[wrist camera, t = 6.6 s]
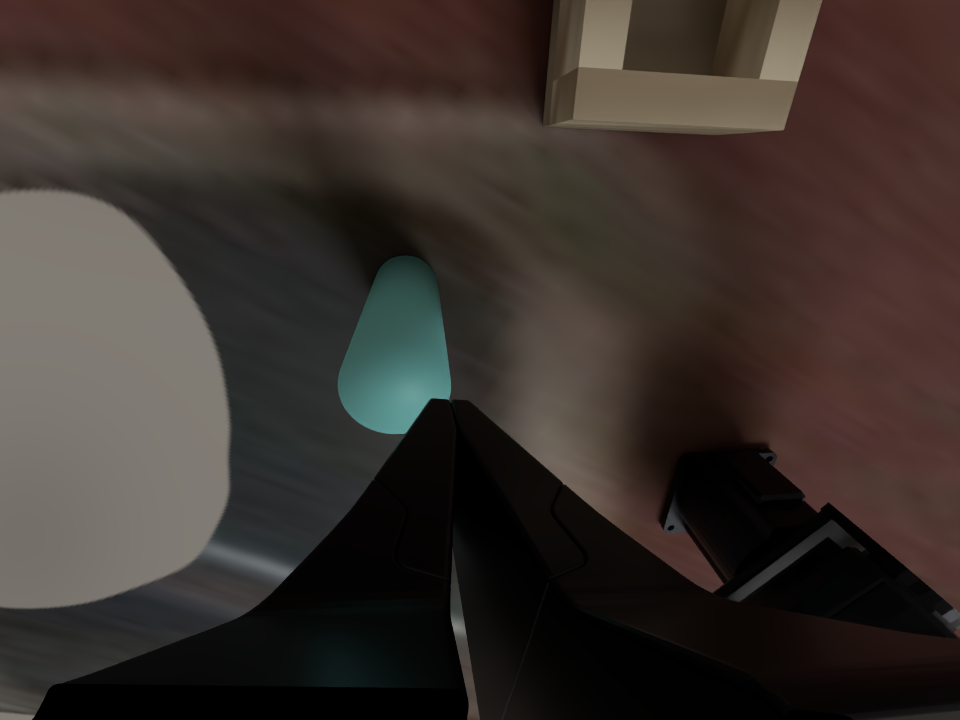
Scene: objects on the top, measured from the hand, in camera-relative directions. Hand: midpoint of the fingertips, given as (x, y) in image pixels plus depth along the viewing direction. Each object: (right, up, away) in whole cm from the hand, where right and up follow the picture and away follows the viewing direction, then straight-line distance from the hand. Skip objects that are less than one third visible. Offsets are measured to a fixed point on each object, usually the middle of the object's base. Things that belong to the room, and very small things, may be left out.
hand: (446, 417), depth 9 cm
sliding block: (+7, +15, +8) cm, 18 cm away
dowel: (-3, +5, +11) cm, 13 cm away
